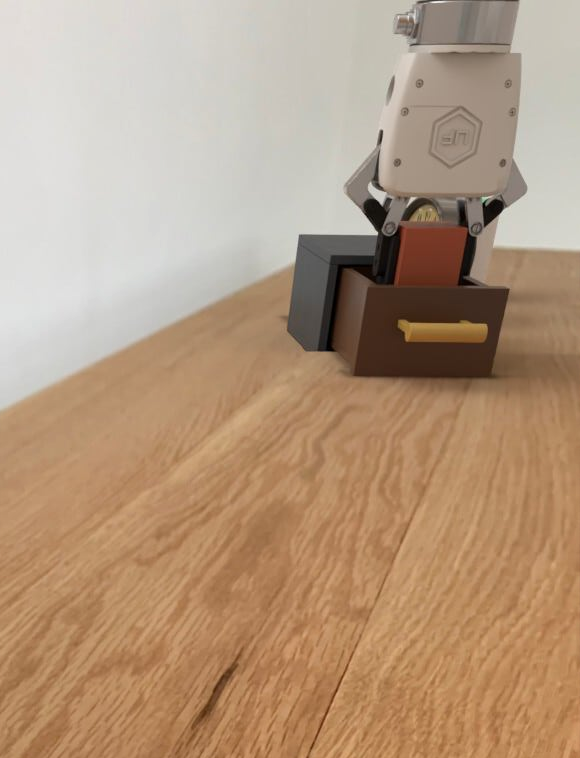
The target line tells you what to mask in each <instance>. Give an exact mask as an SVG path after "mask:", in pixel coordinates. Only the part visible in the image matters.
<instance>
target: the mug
mask: <svg viewBox="0 0 580 758" xmlns="http://www.w3.org/2000/svg"><path fill="white" fill-rule="evenodd" d="M486 199H487V198H485V197H482V203H483V202H484V201H485V200H486ZM500 215H501V214H499V215H498V216H497V217H496V218H495V219H494V220H493V221H492V222H491V223H489V224H488V225H487V226H486V227H485V228H484V229H483V232H482V233H481V234H480V235H479V236H477V245H476V253H475V258H474V262H473V265H472V268H471V272H470V277H472V278H474V279H476V280H478V281H480V282H482V283H484V284H486V280H487V276H488V271H489V267H490V262H491V258H492V253H493V247H494V243H495V239H496V233H497V228H498V225H499V219H500Z"/></svg>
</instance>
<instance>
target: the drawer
mask: <svg viewBox="0 0 580 758" xmlns="http://www.w3.org/2000/svg"><path fill="white" fill-rule="evenodd" d="M376 279H377V276H374V275H373V266H371V265H339V266H338V273H337V280H336V287H335V294H334V301H333V307H332V314H331V321H330V328H329V335H328V341H327V343H328V344H329V345H330V346H331V347H332V348H333V349H334V350H335V351H336V352H335V353H337V354H338V355H339V356H340V357H341V358H342V359H343V360H344V361H345V362H346V363H348V364H349V366H350V370H349V373H350V375H352V376H353V377H388V378H389V377H393V378H395V377H398V378H400V377H401V378H403V377H404V378H471V379H472V378H474V379H476V378H477V379H478V378H479V379H490V378H491V376H492V371H493V366H494V362H495V359H496V358H495V357H496V355H497V354H496V353H497V348H498V345H499V339H500V336H501V330H502V326H503V322H504V317H505V313H506V309H507V303H508V299H509V294H510V291H511V290H510V288H509V287H507V286H505V285H488V284H486V283H485V284H484V283H482V282H480V281H478V280H476V279H474V278H472V277H470V276H468V275H467V276H463V281H462V286H444V285H379V284H377V282H376Z"/></svg>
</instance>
